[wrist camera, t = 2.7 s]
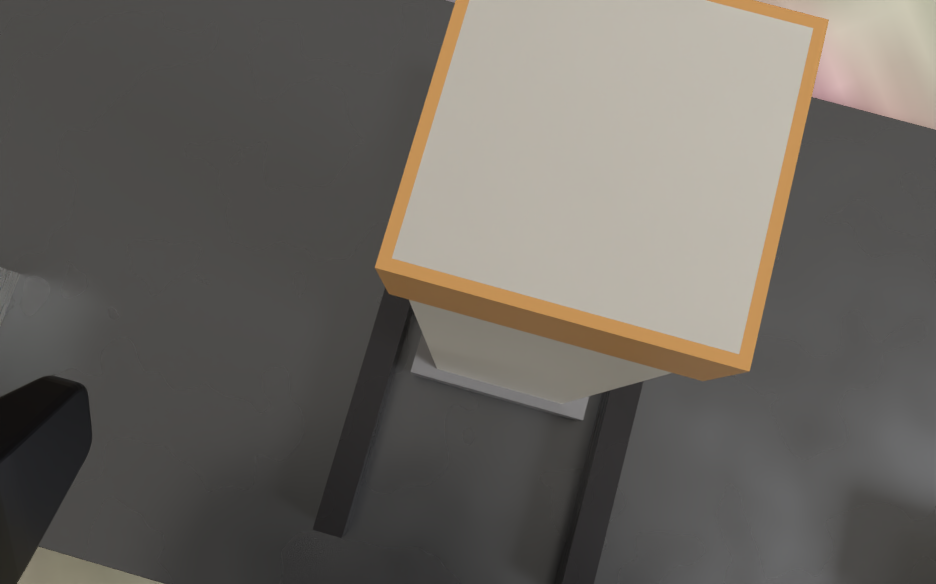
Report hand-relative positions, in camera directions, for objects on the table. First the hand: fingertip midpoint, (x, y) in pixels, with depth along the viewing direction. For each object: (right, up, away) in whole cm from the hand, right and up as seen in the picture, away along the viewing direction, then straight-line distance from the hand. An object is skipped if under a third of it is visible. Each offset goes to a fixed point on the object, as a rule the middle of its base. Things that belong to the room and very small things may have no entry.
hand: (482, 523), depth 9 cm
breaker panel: (+1, +1, +11) cm, 11 cm away
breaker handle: (+1, +2, +9) cm, 9 cm away
